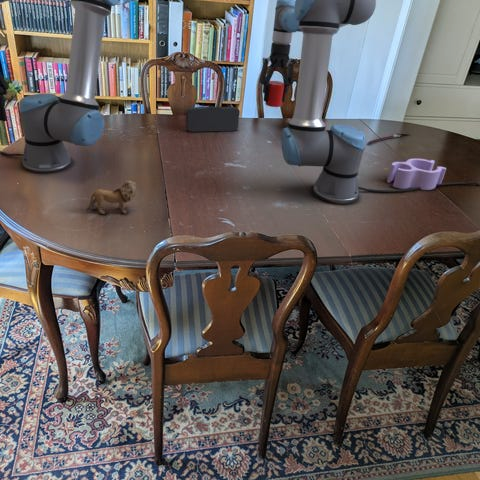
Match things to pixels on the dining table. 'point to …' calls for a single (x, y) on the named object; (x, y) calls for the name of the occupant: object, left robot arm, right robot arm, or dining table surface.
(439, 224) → the dining table surface
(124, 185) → the lion figurine
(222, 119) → the dark grey rectangular block
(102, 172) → the dining table surface
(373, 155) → the dining table surface
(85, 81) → the left robot arm
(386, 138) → the sword
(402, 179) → the clip
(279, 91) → the canister
